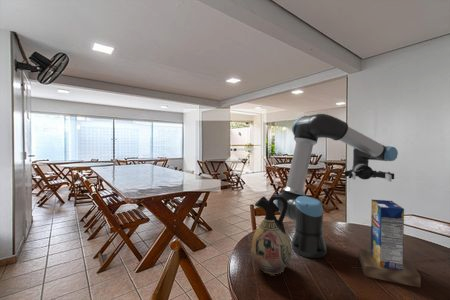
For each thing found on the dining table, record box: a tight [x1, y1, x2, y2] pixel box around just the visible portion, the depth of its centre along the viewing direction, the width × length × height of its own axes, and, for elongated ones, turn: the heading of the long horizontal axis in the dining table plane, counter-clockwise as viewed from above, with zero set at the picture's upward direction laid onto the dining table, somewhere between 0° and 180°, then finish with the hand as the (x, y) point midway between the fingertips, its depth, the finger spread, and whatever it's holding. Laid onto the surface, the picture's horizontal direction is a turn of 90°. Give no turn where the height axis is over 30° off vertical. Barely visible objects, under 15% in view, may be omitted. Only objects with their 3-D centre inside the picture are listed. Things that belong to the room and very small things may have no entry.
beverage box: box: [370, 199, 405, 270], centre depth 82 cm, size 7×11×22 cm, turn 161°
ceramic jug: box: [250, 194, 292, 275], centre depth 84 cm, size 17×15×30 cm
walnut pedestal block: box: [358, 247, 422, 288], centre depth 83 cm, size 16×14×4 cm
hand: (372, 177), depth 97 cm, fingers open, 13 cm apart
